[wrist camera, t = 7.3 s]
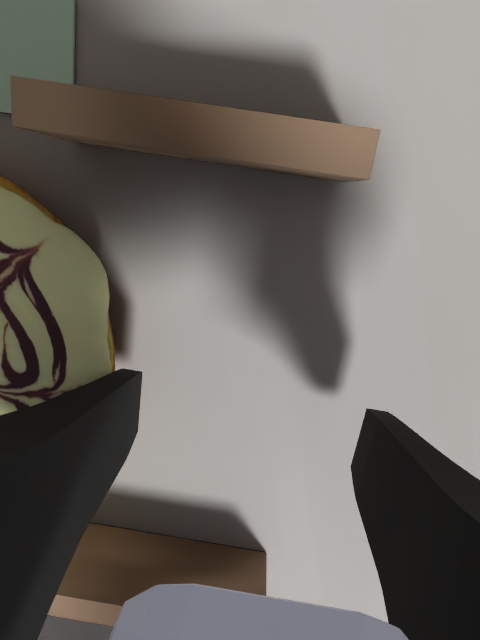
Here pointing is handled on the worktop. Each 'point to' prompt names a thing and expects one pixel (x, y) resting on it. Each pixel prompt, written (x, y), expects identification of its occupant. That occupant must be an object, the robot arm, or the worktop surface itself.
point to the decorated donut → (48, 305)
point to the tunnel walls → (204, 145)
